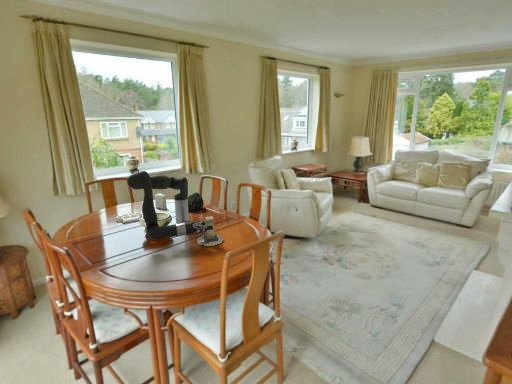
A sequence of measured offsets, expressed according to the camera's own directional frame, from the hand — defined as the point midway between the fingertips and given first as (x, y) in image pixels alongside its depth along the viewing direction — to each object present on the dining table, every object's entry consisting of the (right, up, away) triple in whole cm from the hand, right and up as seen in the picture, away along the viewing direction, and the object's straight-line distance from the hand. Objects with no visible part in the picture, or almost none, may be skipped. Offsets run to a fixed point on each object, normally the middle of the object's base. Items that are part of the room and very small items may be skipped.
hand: (210, 225), depth 178 cm
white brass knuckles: (-67, -1, +40) cm, 78 cm away
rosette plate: (-1, -10, +2) cm, 11 cm away
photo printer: (-52, +7, +67) cm, 85 cm away
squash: (-23, +6, +64) cm, 68 cm away
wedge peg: (-1, -9, +2) cm, 9 cm away
